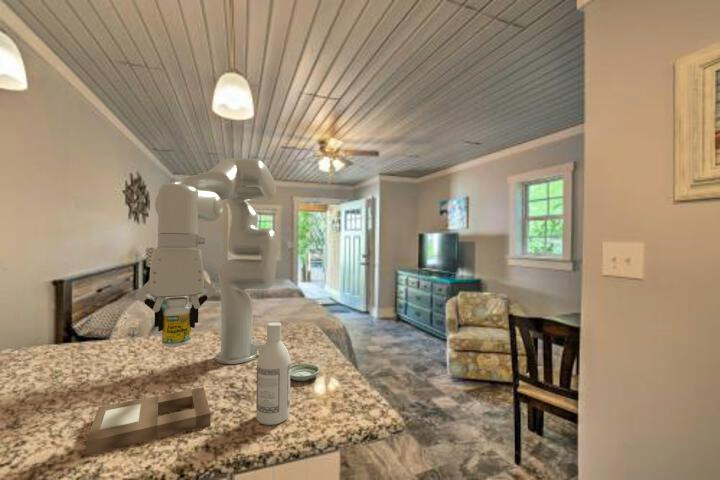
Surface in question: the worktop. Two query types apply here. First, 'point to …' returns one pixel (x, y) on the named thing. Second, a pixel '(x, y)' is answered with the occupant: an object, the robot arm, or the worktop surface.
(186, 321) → the supplement bottle
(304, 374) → the saucer
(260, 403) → the bath foam
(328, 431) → the worktop surface
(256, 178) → the robot arm
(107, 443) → the rack board
